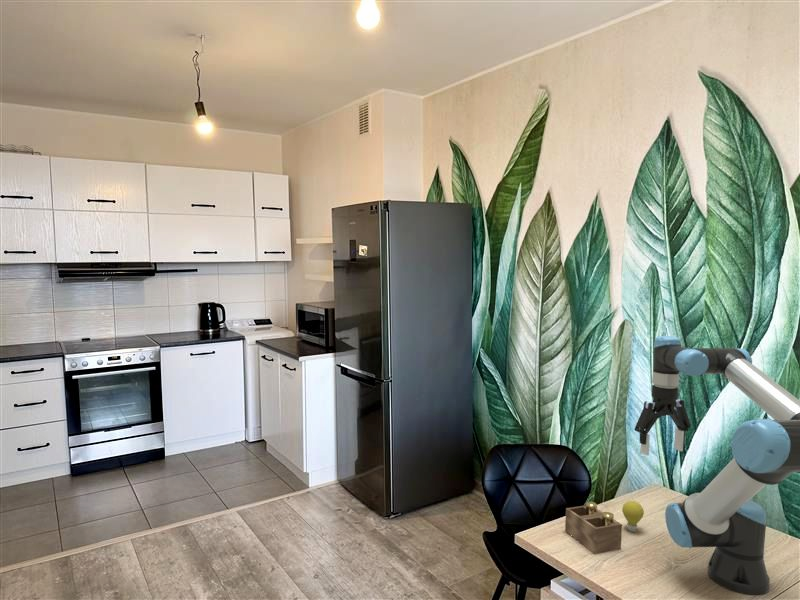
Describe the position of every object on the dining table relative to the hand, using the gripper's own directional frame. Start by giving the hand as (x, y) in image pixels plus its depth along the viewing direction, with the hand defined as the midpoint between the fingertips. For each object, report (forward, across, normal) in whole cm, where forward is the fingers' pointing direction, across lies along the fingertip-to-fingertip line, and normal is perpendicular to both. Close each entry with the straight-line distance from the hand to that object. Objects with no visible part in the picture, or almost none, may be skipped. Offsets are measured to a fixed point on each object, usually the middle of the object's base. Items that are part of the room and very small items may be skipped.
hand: (661, 452), depth 175 cm
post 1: (+31, +15, -14) cm, 37 cm away
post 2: (+31, +15, -6) cm, 35 cm away
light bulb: (+31, 0, -11) cm, 33 cm away
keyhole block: (+31, +18, -10) cm, 37 cm away
